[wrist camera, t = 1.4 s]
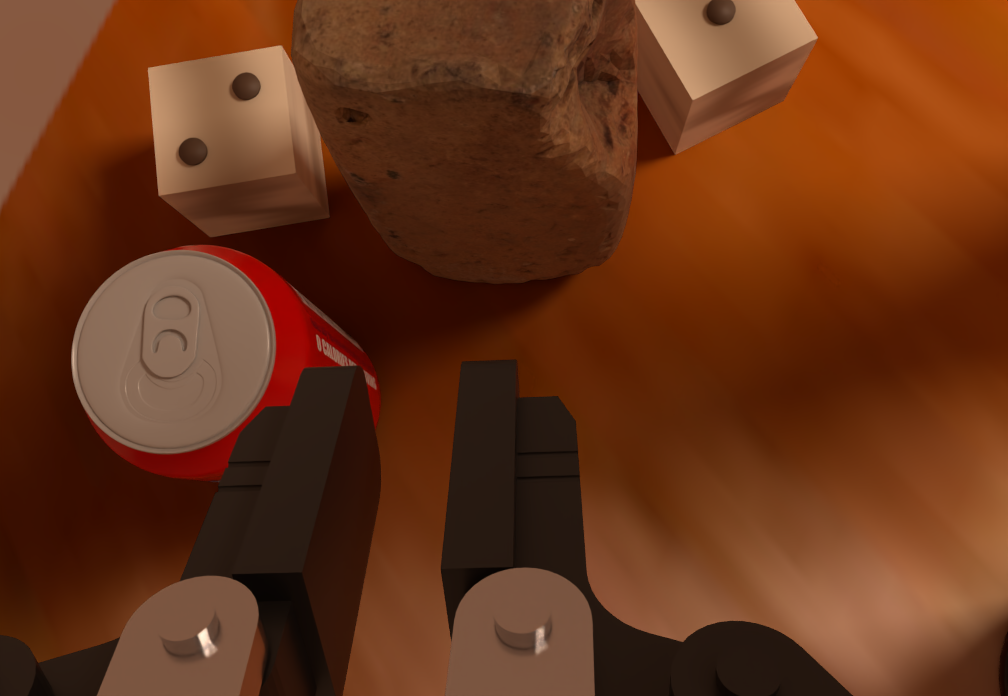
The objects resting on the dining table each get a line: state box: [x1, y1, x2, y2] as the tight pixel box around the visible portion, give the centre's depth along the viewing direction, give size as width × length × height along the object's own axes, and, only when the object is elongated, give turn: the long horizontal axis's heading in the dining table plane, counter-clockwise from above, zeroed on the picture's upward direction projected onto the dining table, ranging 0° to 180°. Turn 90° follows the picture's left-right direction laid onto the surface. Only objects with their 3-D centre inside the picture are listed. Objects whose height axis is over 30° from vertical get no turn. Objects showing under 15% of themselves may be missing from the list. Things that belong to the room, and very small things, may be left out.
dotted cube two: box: [148, 46, 330, 237], centre depth 42 cm, size 6×6×6 cm
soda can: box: [71, 245, 381, 482], centre depth 35 cm, size 8×8×15 cm
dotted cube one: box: [635, 0, 818, 155], centre depth 42 cm, size 6×6×6 cm
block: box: [291, 0, 638, 284], centre depth 34 cm, size 11×8×20 cm
